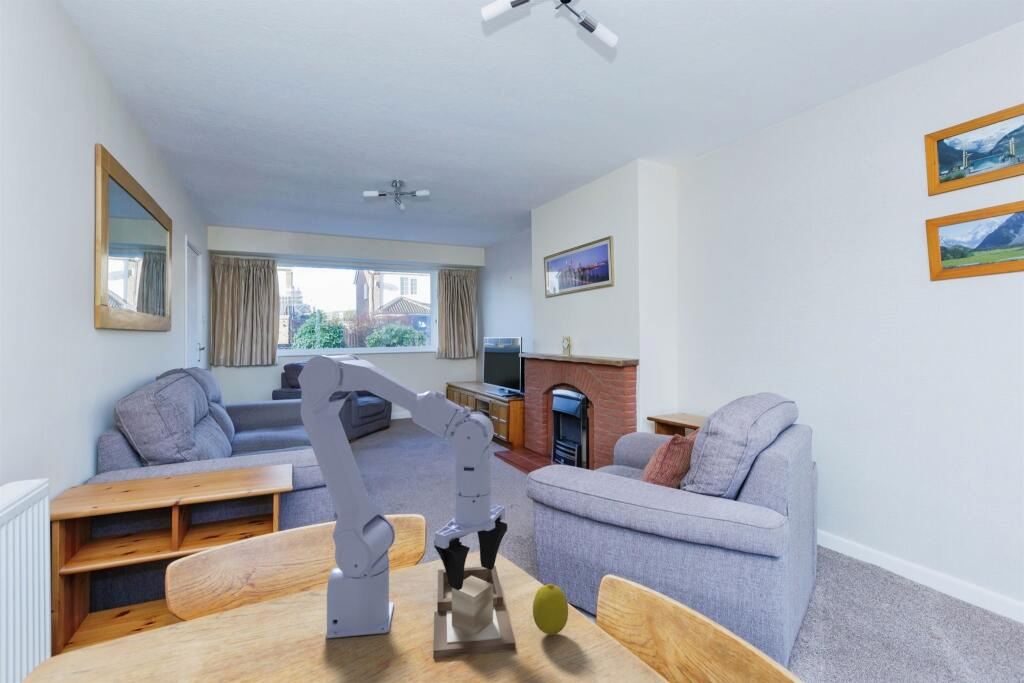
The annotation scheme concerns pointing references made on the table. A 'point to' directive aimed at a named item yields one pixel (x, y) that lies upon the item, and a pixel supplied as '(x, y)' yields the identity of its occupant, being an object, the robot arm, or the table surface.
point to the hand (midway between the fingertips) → (472, 577)
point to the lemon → (550, 609)
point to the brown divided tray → (460, 642)
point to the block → (472, 606)
